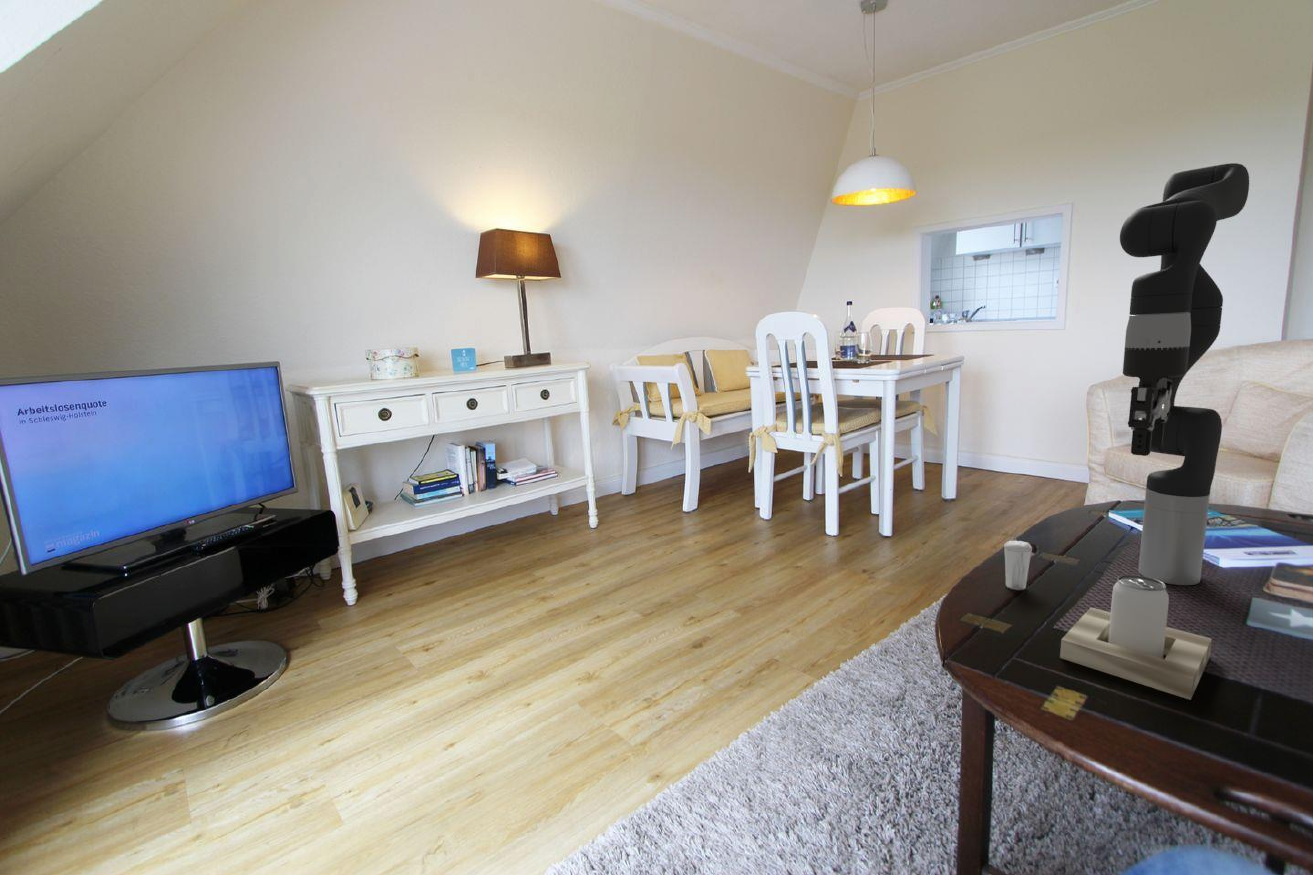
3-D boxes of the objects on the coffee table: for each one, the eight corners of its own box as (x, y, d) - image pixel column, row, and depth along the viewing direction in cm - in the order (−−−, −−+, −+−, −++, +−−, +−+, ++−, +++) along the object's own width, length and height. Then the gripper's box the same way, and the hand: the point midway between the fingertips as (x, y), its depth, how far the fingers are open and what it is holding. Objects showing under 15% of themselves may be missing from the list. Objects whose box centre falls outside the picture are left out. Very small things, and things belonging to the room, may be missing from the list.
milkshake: (1025, 581, 118) (1028, 532, 117) (1032, 592, 113) (1035, 542, 112) (998, 579, 120) (1001, 531, 118) (1004, 590, 115) (1007, 540, 113)
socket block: (1089, 624, 101) (1090, 607, 100) (1209, 657, 90) (1211, 638, 89) (1059, 657, 91) (1061, 639, 91) (1190, 699, 80) (1193, 679, 80)
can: (1142, 646, 93) (1149, 573, 91) (1173, 669, 87) (1182, 591, 85) (1097, 646, 94) (1103, 573, 92) (1125, 669, 88) (1132, 591, 86)
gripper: (1179, 346, 83) (1168, 461, 86) (1198, 341, 92) (1187, 445, 95) (1113, 347, 89) (1104, 455, 92) (1136, 342, 98) (1128, 440, 101)
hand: (1146, 450), depth 93 cm, fingers open, 8 cm apart
